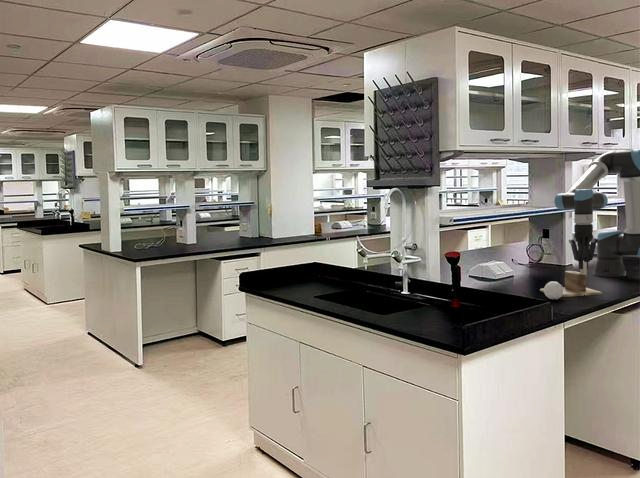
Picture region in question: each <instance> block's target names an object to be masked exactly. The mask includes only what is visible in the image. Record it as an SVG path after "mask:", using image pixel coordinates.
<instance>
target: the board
mask: <svg viewBox="0 0 640 478" xmlns="http://www.w3.org/2000/svg"><path fill="white" fill-rule="evenodd" d="M562 287H563V286H562ZM539 291H540V292H542V293H544V288H540V289H539ZM602 294H603V292H602V291H599V290H595V289H592V288H589V287H586V292H575V291H572V290H568V289H565V286H564V287H563V295H562V296H561V297H560V298H566V297H579V296H580V297H582V296H583V297H584V295H585V296H597V295H600V296H601V295H602Z"/></svg>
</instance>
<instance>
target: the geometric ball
mask: <svg viewBox="0 0 640 478" xmlns="http://www.w3.org/2000/svg"><path fill="white" fill-rule="evenodd" d="M543 289H544V292H543V293H544V295H545V296H546V297H547V298H548V299H550V300H554V299H555V300H559V299H560V298H562V297H561V296H562V295H563V285H562V284H560V283H559V282H558V281H548V282H547V283H546V284H545V286H544V288H543Z"/></svg>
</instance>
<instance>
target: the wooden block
mask: <svg viewBox="0 0 640 478" xmlns="http://www.w3.org/2000/svg"><path fill="white" fill-rule="evenodd" d="M564 287H565V289H568V290H572V291H575V292H586V288H587V277H586V274H585V273H581V272H579V271H575V270H565V271H564Z"/></svg>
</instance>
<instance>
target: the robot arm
mask: <svg viewBox="0 0 640 478" xmlns="http://www.w3.org/2000/svg"><path fill="white" fill-rule="evenodd" d="M613 174H616V175H617V174H619V179H621V180H622V181H623V193H624V194H623V195H624V209H625V210H624V211H625V224H626V228H625V229H623V230H608V231H601V232H598V234H597V236H596V238H595V237H594V235H593V232H594V223H593V222H594V219H593V218H594V210H602V209H604V208H606V206H607V205H608V201H609V200H608V196H607V194H604V193H602V192H594V190H593V188H594V187H595V186H596V185H597V183H598V182H599V181H600V180H602V179H603V178H605V177H607V176H608V175H613ZM553 202H554V206H555V208H556V209H558V210H574V214H573V215H574V216H573V218H574V219H573V220H574V221H573V222H574V227H573V230H574V231H573V232H574V235H573V238H572V239H569V240H568V242H569V244H570V247H571V250H572V255H573V259H574V261H577V262H578V269H579V271H580V272H581V273H585V274H586V278H587V277H588V275H587V273H588V272H587V271H588V269H589V263H590V261H593V259H594V255H595V251H596V254H597V255H596V259H597V260H596V263H595V265H594V269H593V275H594V276H596V277H602V278H603V277H605V278H621V277H622V276H623V277H626V276H627V271H626V269H625V265H624V262H623V257H631V258H632V257H634V258H639V259H640V148H626V149H615V150H609V151H607V152H604V153H603V154H601V155H599V156H598V157H596V158H595V159H593V161H591V162H590V163H589V165H588V168H587V170H586V171H585V172H584V173H582V174H581V176H580V177H578V179H577V180H576V181H575V183H574V182H573V184H572V185H571V186H570V187H569V189H568V190H566V192H564V193H563V192H561V193H558V194H556V195H555V196H554V201H553Z"/></svg>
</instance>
